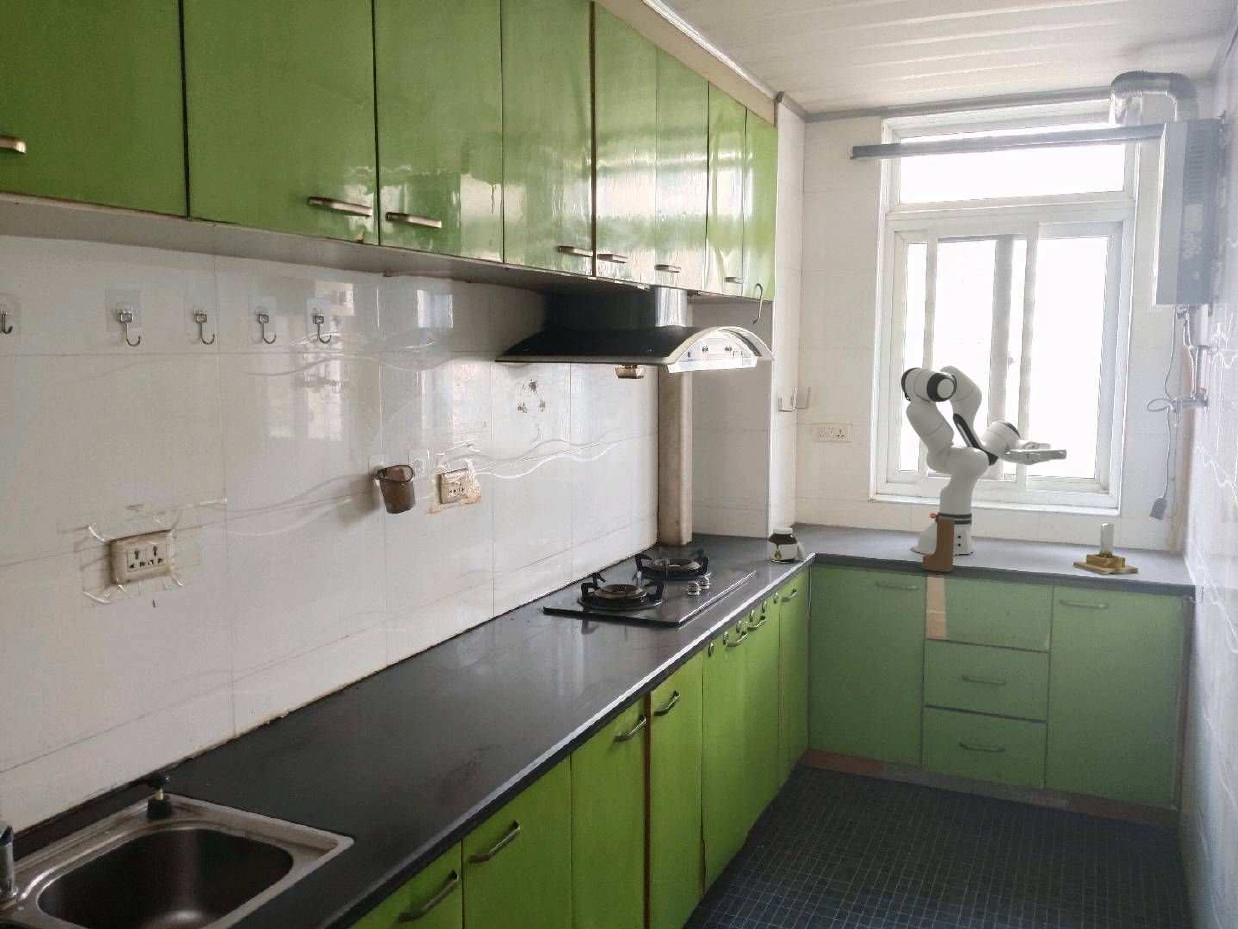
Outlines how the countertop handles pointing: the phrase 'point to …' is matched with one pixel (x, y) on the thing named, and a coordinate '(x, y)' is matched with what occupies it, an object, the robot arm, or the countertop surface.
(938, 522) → the wooden block
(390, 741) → the countertop surface
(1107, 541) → the steel pin
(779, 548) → the spread jar
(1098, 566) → the socket block
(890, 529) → the countertop surface
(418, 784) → the countertop surface
